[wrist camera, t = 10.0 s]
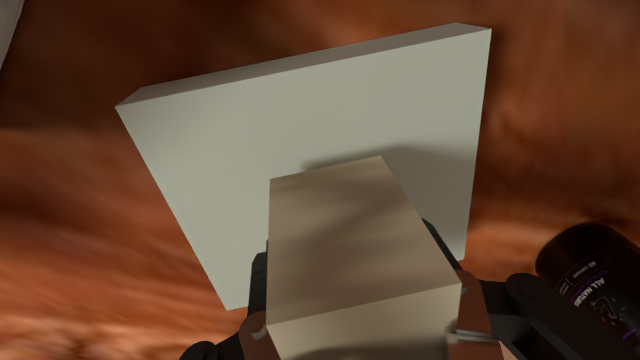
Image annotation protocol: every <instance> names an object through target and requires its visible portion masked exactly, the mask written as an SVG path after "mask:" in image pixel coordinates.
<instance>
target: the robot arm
mask: <svg viewBox="0 0 640 360" xmlns="http://www.w3.org/2000/svg"><path fill="white" fill-rule="evenodd" d="M421 219H422V221H423V223H424V224H425V226H426V227H427V229H428V230H429V232H430V234H431V235H432V237H433V238H434V240H435V241H436V243H437V245H438V246H439V248H440V249H441V251H442V252H443V254H444V255H445V257H446V259H447V260H448V262H449V263H450V265H451V266H452V268H453V270H454V271H455V273H456V274H457V276H458V277H459V279H460V281H461V282H462V287H461V295H460V303H459V311H458V319H457V324H455V325H451V326H446V327H444V357H443V360H504V358H503V354H502V350H501V346H500V343H499V341H501V342H502V343H503V344H504V345H505V346H506V347H507V348H508V349H509V351H510V352H511V353H512V354H513V355H514V356H515V357H516V358H517V359H518V360H640V354H639V353H638V352H636V351H635V350H634V349H633V348H631V347H630V346H629V345H627V344H626V343H625V342H623V341H622V340H621V339H620V338H618V337H617V336H616V335H614V334H613V333H612V332H610V331H609V330H608V329H606V328H605V327H604V326H603V325H601V324H600V323H599V322H597V321H596V320H595V319H593V318H592V317H591V316H590V315H588V314H587V313H586V312H584V311H583V310H582V309H580V308H579V307H578V306H576V305H575V304H574V303H573V302H571V301H570V300H569V299H567V298H566V297H565V296H563V295H562V294H561V293H560V292H558V291H557V290H556V289H554V288H553V287H552V286H550V285H549V284H548V283H547V282H545V281H544V280H542V279H541V278H539V277H537V276H534V275H532V274H527V273H516V274H513V275H511V276H509V277H508V279H507V281H506V282H494V281H484V280H480V279H477V278H476V277H475V276H474V275H473V274H471V273H469V272H467V271H465V270H463V269H462V268H461V266H460V265H459V263H458V262H457V260H456V259H455V257H454V256H453V254H452V253H451V251H450V250H449V248H448V247H447V245H446V244H445V242H443V239H442V238H441V236H440V235H439V234H438V232H437V230H436V229H435V227H434V226H433V225H432V224H431V223H429V222H428V221H427V220H425V219H424V218H421ZM267 263H268V239H267V241H266V252H261V253H257V255H256V256H255V258H254V260H253V262H252V267H251V279H250V282H251V283H250V290H249V302H248V314H247V318H246V319H245V320H244V321H243V323H242V324H241V326H240V329H239V331H238V332H237V333H235V334H234V335H233V336H231V337H229V338H227V339H226V340H224V341H222V342H220V343H218V344H217V345H214V344H213V343H212V342H209V341H201V342H198V343H195V344H193V345H192V346H190V347H189V348H188V349H187V350H186V351H185V352H184V353H183V354H182V356H181V357H180V359H179V360H281V358H280V356H279V354H278V351H277V349H276V347H275V345H274V343H273V340H272V338H271V336H270V334H269V332H268V330H267V327H266V299H267Z"/></svg>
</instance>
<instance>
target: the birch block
mask: <svg viewBox="0 0 640 360" xmlns="http://www.w3.org/2000/svg"><path fill="white" fill-rule="evenodd" d="M461 287H462V282H461V281H460V279H459V277H458V276H457V274H456V273H455V271H454V270H453V268H452V266H451V265H450V263H449V262H448V260H447V259H446V257H445V255H444V254H443V252H442V251H441V249H440V248H439V246H438V245H437V243H436V241H435V240H434V238H433V237H432V235H431V234H430V232H429V230H428V229H427V227H426V226H425V224H424V223H423V221H422V219H421V218H420V216H419V215H418V213H417V212H416V210H415V208H414V207H413V205H412V204H411V202H410V201H409V199H408V198H407V196H406V194H405V193H404V191H403V190H402V188H401V187H400V185H399V183H398V182H397V180H396V179H395V177H394V176H393V174H392V172H391V171H390V169H389V168H388V166H387V165H386V163H385V162H384V160H383V158H382V157H381V155H380V156H375V157H371V158H366V159H361V160H357V161H352V162H347V163H342V164H338V165H333V166H328V167H324V168H319V169H314V170H309V171H305V172H300V173H295V174H291V175H286V176H281V177H276V178H272V179H270V190H269V226H268V263H267V299H266V327H267V330H268V332H269V334H270V336H271V338H272V340H273V343H274V345H275V347H276V349H277V351H278V354H279V356H280V358H281V360H443V357H444V327H446V326H451V325H455V324H457V319H458V311H459V303H460V295H461Z"/></svg>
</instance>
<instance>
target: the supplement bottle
mask: <svg viewBox="0 0 640 360" xmlns="http://www.w3.org/2000/svg"><path fill="white" fill-rule="evenodd" d="M535 269H536V273H537V275H538V277H539V278H541V279H542V280H544V281H545V282H547V283H548V284H549V285H550V286H552V287H553V288H554V289H556V290H557V291H558V292H560V293H561V294H562V295H563V296H565V297H566V298H567V299H569V300H570V301H571V302H573V303H574V304H575V305H576V306H578V307H579V308H580V309H582V310H583V311H584V312H586V313H587V314H588V315H590V316H591V317H592V318H593V319H595V320H596V321H597V322H599V323H600V324H601V325H603V326H604V327H605V328H606V329H608V330H609V331H610V332H612V333H613V334H614V335H616V336H617V337H618V338H620V339H621V340H622V341H623V342H625V343H626V344H627V345H629V346H630V347H631V348H633V349H634V350H635V351H636V352H638V353H639V354H640V247H638V246H637V245H635V244H634V243H633V242H631V241H630V240H629V239H627V238H626V237H624V236H623V235H621V234H620V233H619V232H617V231H616V230H614V229H613V228H611V227H608V226H606V225H601V224H587V225H581V226H578V227H575V228H572V229H570V230H567V231H565V232H563V233H562V234H560V235H558V236H557V237H555V238H554V239H553V240H551V241H550V242H549V243H548V244H547V245H546V246H545V247H544V248H543V249H542V250H541V252H540V253H539V255H538V257H537V259H536V263H535Z"/></svg>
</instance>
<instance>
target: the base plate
mask: <svg viewBox="0 0 640 360" xmlns="http://www.w3.org/2000/svg"><path fill="white" fill-rule="evenodd" d="M491 31H492V29H490V28H484V27H479V26H473V25H467V24H462V23H451V24H447V25H442V26H437V27H432V28H427V29H422V30H417V31H413V32H408V33H403V34H398V35H393V36H388V37H383V38H379V39H374V40H369V41H364V42H359V43H354V44H349V45H345V46H340V47H335V48H330V49H325V50H320V51H315V52H311V53H306V54H301V55H296V56H291V57H286V58H281V59H277V60H272V61H267V62H262V63H257V64H252V65H247V66H242V67H238V68H233V69H228V70H223V71H218V72H213V73H208V74H204V75H199V76H194V77H189V78H184V79H179V80H174V81H170V82H165V83H160V84H155V85H150V86H145V87H141V88H140V89H138V90H137V91H136V92H134V93H133V94H131V95H130V96H129V97H127V98H126V99H125V100H123V101H122V102H120V103H119V104H118V105H116V106H115V108H116V110H117V112H118V114H119V116H120V118H121V119H122V121H123V123H124V125H125V127H126V128H127V130H128V132H129V134H130V136H131V138H132V139H133V141H134V143H135V145H136V147H137V148H138V150H139V152H140V154H141V156H142V157H143V159H144V161H145V163H146V165H147V167H148V168H149V170H150V172H151V174H152V176H153V177H154V179H155V181H156V183H157V185H158V187H159V188H160V190H161V192H162V194H163V196H164V197H165V199H166V201H167V203H168V205H169V206H170V208H171V210H172V212H173V214H174V216H175V217H176V219H177V221H178V223H179V225H180V226H181V228H182V230H183V232H184V234H185V236H186V237H187V239H188V241H189V243H190V245H191V246H192V248H193V250H194V252H195V254H196V256H197V257H198V259H199V261H200V263H201V265H202V266H203V268H204V270H205V272H206V274H207V275H208V277H209V279H210V281H211V283H212V285H213V286H214V288H215V290H216V292H217V294H218V295H219V297H220V299H221V301H222V303H223V305H224V306H225V308H226V310H227V311H228V310H232V309H237V308H241V307H246V306H248V302H249V290H250V283H251V282H250V279H251V267H252V262H253V260H254V258H255V256H256V255H257V253H261V252H266V241H267V239H268V226H269V190H270V179H272V178H276V177H281V176H286V175H291V174H295V173H300V172H305V171H309V170H314V169H319V168H324V167H328V166H333V165H338V164H342V163H347V162H352V161H357V160H361V159H366V158H371V157H375V156H380V155H381V157H382V158H383V160H384V162H385V163H386V165H387V166H388V168H389V169H390V171H391V172H392V174H393V176H394V177H395V179H396V180H397V182H398V183H399V185H400V187H401V188H402V190H403V191H404V193H405V194H406V196H407V198H408V199H409V201H410V202H411V204H412V205H413V207H414V208H415V210H416V212H417V213H418V215H419V216H420V218H424V219H425V220H427V221H428V222H429V223H431V224H432V225H433V226H434V227H435V229H436V230H437V232H438V234H439V235H440V236H441V238H442V239H443V242H445V244H446V245H447V247H448V248H449V250H450V251H451V253H452V254H453V256H454V257H455V259H456V260H457V261H458V260H462V259H464V254H465V245H466V237H467V229H468V221H469V212H470V204H471V196H472V188H473V179H474V171H475V163H476V155H477V146H478V138H479V130H480V122H481V113H482V105H483V97H484V89H485V80H486V72H487V64H488V56H489V47H490V39H491Z"/></svg>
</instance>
